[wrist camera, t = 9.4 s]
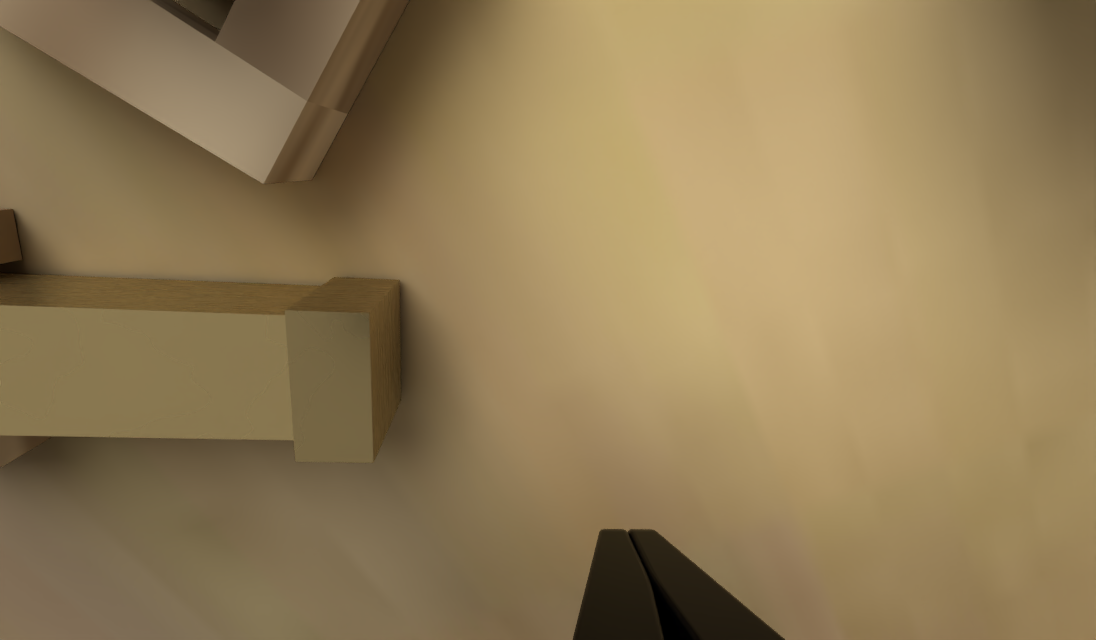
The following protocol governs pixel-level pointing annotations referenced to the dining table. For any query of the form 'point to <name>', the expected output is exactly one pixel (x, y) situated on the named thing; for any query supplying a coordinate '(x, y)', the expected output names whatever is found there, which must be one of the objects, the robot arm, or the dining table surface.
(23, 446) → the pin guide
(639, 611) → the robot arm
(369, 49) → the dock block
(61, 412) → the tan rectangular block
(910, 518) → the dining table surface
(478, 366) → the dining table surface
